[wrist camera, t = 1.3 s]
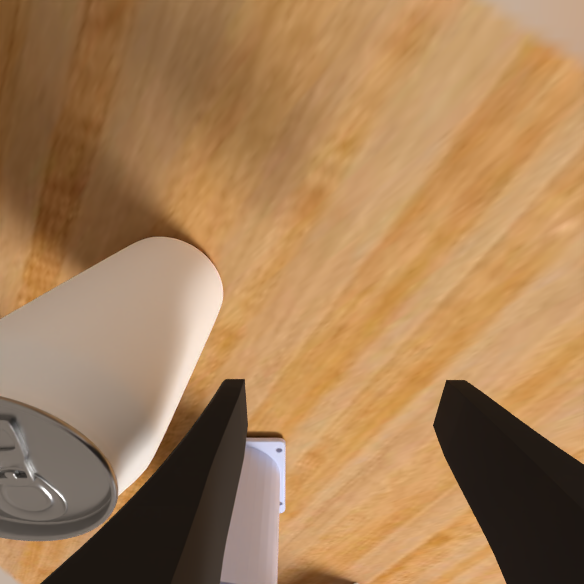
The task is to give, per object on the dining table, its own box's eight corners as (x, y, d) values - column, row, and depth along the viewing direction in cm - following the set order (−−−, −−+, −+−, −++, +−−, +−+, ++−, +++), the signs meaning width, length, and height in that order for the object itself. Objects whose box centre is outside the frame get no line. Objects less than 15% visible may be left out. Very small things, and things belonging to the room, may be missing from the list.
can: (131, 330, 20) (-66, 550, 9) (105, 233, 17) (-227, 378, 6) (229, 330, 20) (154, 549, 9) (219, 234, 17) (95, 378, 6)
